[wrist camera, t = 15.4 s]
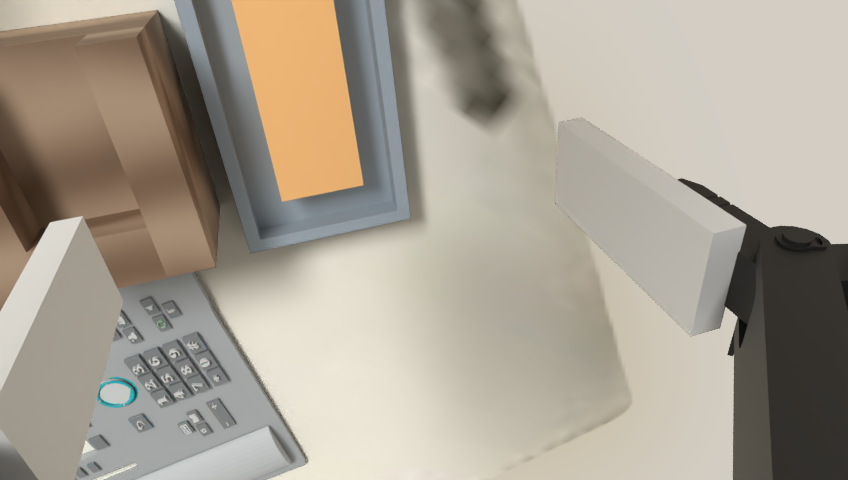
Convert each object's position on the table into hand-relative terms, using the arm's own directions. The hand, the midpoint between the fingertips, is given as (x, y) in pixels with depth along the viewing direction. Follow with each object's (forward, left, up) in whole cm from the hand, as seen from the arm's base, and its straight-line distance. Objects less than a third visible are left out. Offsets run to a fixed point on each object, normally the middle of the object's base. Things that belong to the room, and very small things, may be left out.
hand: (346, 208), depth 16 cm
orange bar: (0, 0, -20) cm, 20 cm away
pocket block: (+3, -12, -21) cm, 24 cm away
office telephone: (+25, -18, -22) cm, 38 cm away
